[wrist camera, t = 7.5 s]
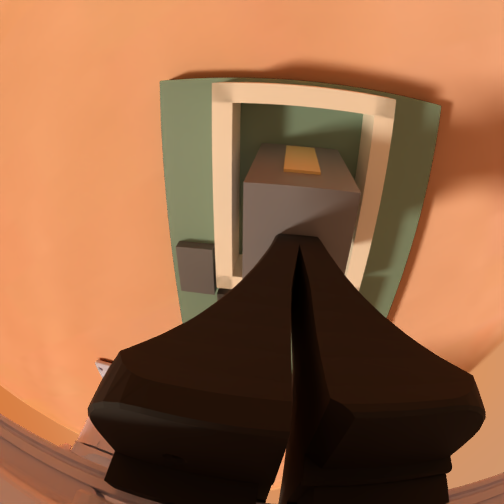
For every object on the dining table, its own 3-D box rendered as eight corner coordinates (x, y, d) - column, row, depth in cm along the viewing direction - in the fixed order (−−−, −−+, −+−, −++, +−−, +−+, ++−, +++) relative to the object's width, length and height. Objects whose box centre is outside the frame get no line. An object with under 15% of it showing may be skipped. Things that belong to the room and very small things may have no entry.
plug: (326, 228, 15) (338, 300, 11) (259, 221, 16) (242, 292, 11) (337, 147, 13) (361, 189, 8) (262, 140, 13) (243, 179, 9)
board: (356, 374, 23) (359, 405, 20) (194, 359, 24) (184, 389, 21) (433, 103, 12) (461, 111, 9) (167, 80, 13) (140, 83, 11)
